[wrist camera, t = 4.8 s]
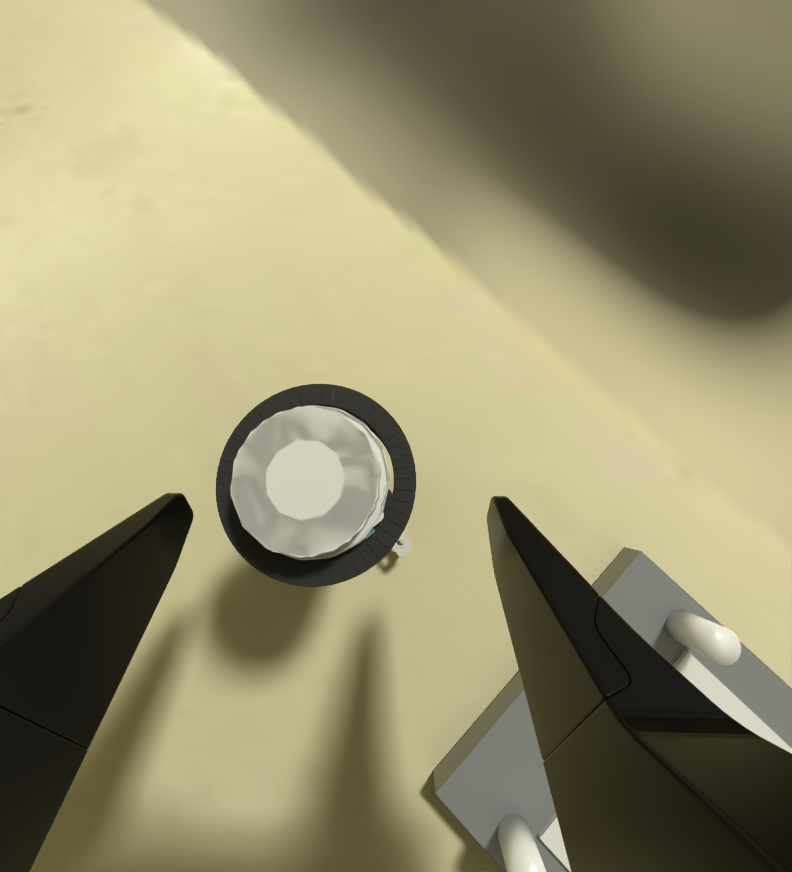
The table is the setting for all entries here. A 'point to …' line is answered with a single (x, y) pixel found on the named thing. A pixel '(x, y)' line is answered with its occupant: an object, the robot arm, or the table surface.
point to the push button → (316, 485)
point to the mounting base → (516, 739)
